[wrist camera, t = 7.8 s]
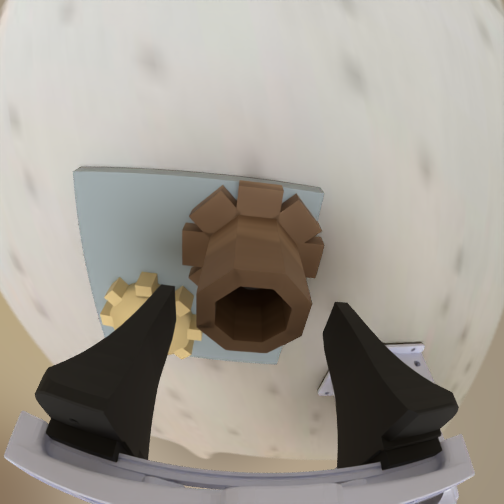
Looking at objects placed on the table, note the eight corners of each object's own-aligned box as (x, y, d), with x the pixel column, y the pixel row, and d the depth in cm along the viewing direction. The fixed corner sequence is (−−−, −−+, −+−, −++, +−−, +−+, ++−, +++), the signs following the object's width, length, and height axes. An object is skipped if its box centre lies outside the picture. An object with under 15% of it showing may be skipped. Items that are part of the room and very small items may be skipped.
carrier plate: (320, 187, 16) (338, 215, 13) (275, 355, 24) (278, 393, 21) (80, 166, 15) (45, 188, 12) (109, 333, 23) (95, 367, 20)
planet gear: (331, 192, 16) (369, 245, 10) (302, 302, 20) (316, 373, 15) (187, 175, 15) (154, 222, 10) (185, 291, 19) (167, 361, 14)
